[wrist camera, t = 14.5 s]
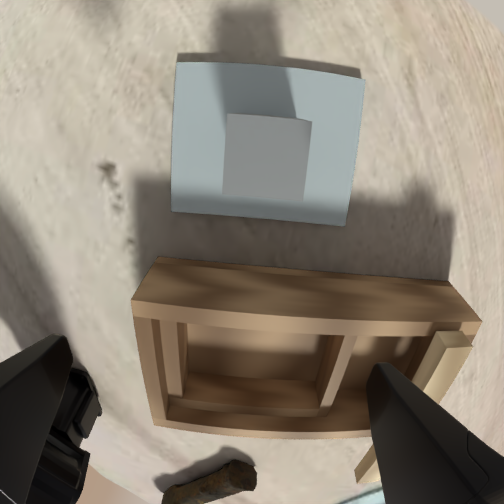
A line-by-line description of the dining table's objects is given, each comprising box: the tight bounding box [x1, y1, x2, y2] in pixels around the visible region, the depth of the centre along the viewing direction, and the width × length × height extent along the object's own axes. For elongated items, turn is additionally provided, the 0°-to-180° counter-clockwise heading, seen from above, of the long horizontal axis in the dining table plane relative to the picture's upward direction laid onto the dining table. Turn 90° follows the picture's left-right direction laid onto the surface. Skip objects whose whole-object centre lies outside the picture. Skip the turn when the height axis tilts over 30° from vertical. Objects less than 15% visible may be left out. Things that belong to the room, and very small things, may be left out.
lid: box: [171, 62, 365, 227], centre depth 14 cm, size 10×8×6 cm
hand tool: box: [161, 460, 257, 504], centre depth 32 cm, size 19×4×5 cm, turn 137°
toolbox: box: [131, 257, 482, 439], centre depth 20 cm, size 20×11×5 cm, turn 85°
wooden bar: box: [355, 331, 473, 484], centre depth 18 cm, size 2×16×2 cm, turn 175°
